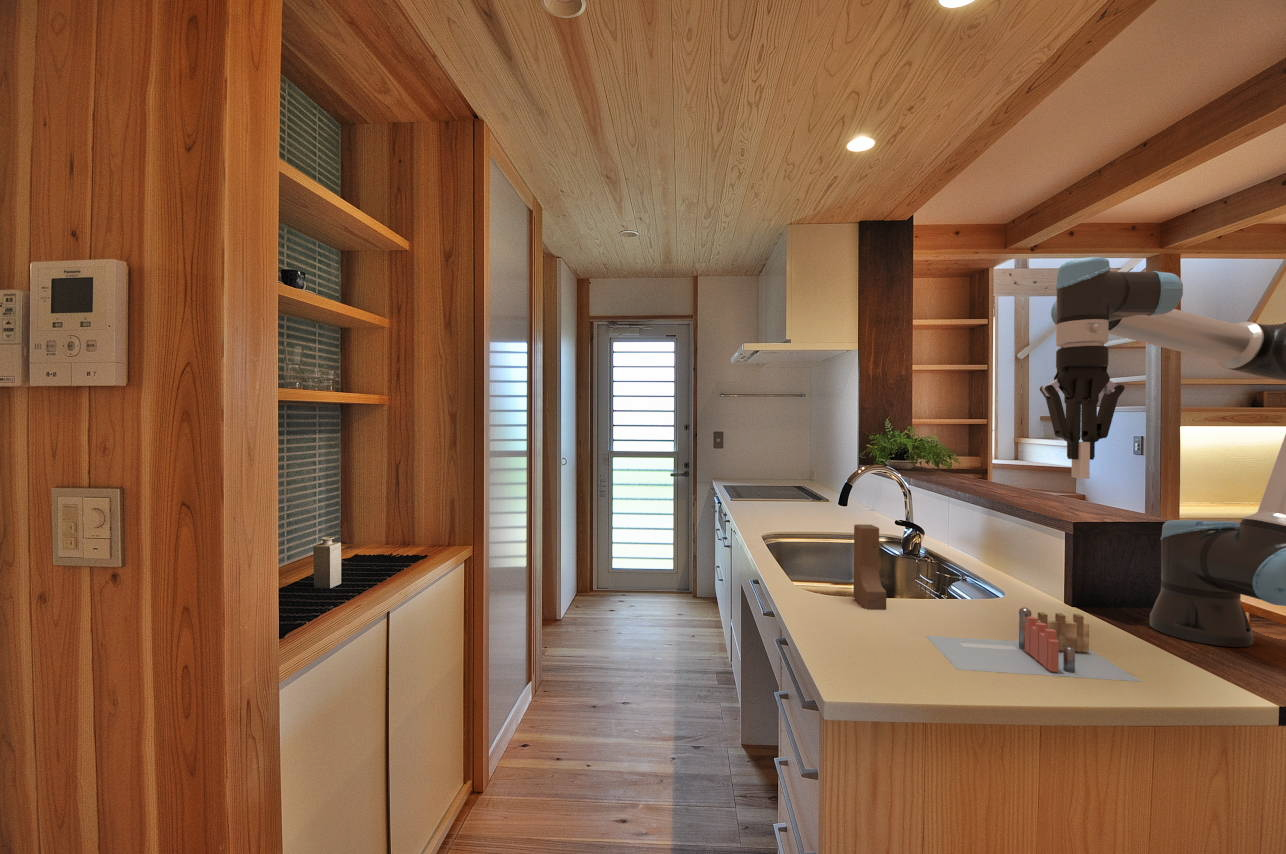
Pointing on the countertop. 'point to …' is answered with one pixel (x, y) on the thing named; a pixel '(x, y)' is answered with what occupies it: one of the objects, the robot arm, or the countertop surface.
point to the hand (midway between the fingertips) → (1080, 477)
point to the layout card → (1021, 659)
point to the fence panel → (1042, 643)
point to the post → (1023, 625)
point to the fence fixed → (1068, 631)
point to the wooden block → (867, 568)
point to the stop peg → (1069, 659)
